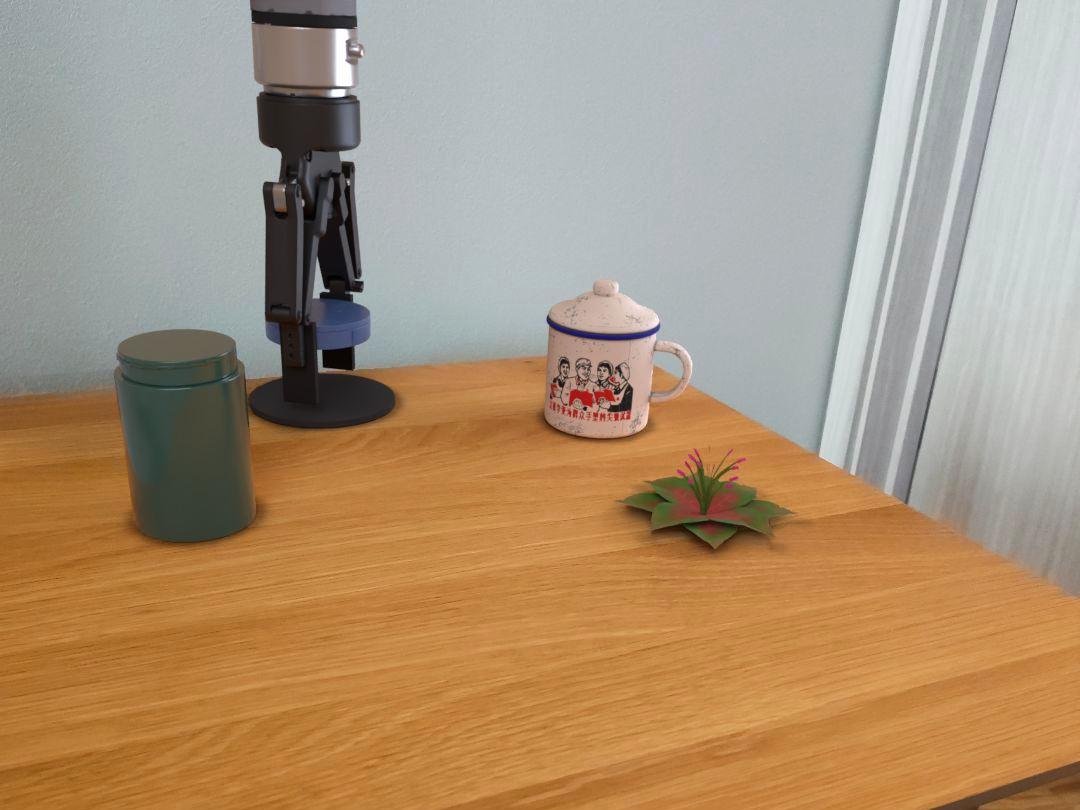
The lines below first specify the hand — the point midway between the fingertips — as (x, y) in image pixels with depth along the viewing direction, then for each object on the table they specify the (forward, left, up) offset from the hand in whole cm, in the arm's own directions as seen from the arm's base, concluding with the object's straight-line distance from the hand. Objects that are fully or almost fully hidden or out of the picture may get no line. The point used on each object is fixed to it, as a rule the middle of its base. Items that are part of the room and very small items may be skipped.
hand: (321, 383), depth 88 cm
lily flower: (+35, +4, -2) cm, 35 cm away
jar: (+11, -20, -2) cm, 23 cm away
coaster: (0, 0, -2) cm, 2 cm away
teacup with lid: (+20, +14, -2) cm, 25 cm away
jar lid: (0, 0, +6) cm, 6 cm away
